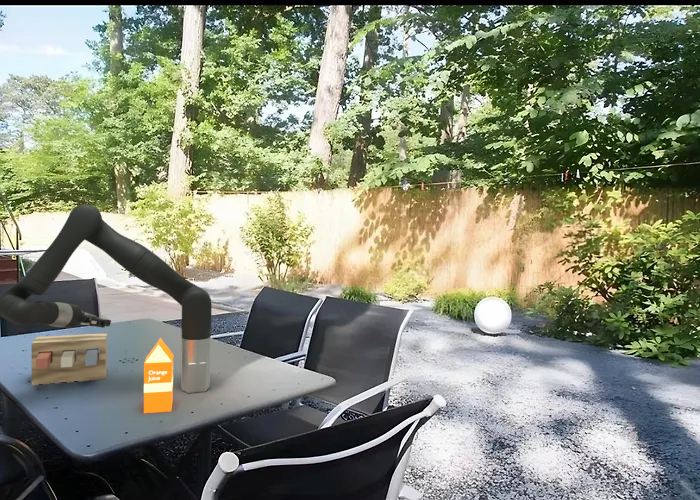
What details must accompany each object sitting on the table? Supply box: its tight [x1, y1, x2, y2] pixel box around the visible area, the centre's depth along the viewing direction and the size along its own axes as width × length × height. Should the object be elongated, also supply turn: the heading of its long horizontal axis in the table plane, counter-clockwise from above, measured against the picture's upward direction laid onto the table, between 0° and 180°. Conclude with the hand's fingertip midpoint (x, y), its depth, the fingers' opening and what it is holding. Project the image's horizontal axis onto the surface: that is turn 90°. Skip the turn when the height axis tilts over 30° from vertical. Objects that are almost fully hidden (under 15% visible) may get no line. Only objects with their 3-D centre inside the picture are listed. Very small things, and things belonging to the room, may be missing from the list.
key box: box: [30, 332, 108, 386], centre depth 177 cm, size 10×22×14 cm, turn 112°
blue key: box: [85, 348, 99, 366], centre depth 173 cm, size 11×3×3 cm, turn 22°
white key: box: [61, 350, 76, 367], centre depth 170 cm, size 11×3×3 cm, turn 22°
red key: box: [36, 351, 52, 369], centre depth 167 cm, size 11×3×3 cm, turn 22°
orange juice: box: [143, 337, 175, 414], centre depth 152 cm, size 8×9×20 cm
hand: (100, 320), depth 176 cm, fingers open, 8 cm apart
